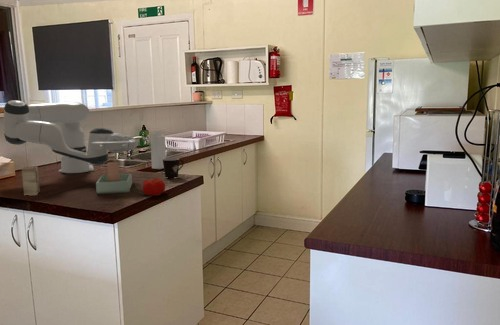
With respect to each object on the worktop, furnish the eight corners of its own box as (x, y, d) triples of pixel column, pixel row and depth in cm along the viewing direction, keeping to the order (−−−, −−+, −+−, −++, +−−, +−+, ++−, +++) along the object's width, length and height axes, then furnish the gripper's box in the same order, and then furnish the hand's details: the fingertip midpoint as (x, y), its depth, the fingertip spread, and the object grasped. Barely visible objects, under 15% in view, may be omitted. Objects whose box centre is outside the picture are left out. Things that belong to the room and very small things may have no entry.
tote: (102, 184, 200) (101, 174, 200) (131, 183, 203) (131, 173, 202) (96, 193, 183) (95, 182, 182) (129, 192, 186) (128, 181, 185)
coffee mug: (164, 180, 211) (164, 160, 210) (161, 176, 219) (161, 158, 217) (187, 178, 215) (186, 159, 214) (183, 175, 223) (182, 157, 222)
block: (27, 193, 185) (25, 166, 183) (39, 192, 186) (37, 166, 184) (24, 195, 180) (21, 168, 178) (36, 195, 181) (34, 168, 179)
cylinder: (109, 187, 191) (108, 162, 189) (120, 187, 192) (119, 161, 190) (107, 190, 186) (106, 164, 184) (119, 189, 187) (118, 163, 185)
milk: (151, 168, 243) (149, 131, 240) (158, 166, 249) (157, 130, 245) (159, 169, 240) (157, 131, 237) (166, 167, 246) (164, 130, 242)
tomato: (143, 198, 176) (142, 183, 175) (142, 192, 186) (141, 178, 185) (166, 196, 179) (166, 181, 178) (164, 190, 189) (163, 176, 188)
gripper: (92, 137, 199) (88, 141, 185) (136, 136, 203) (135, 140, 190) (93, 150, 200) (88, 155, 186) (137, 149, 204) (135, 153, 191)
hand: (112, 147), depth 188 cm, fingers open, 8 cm apart
